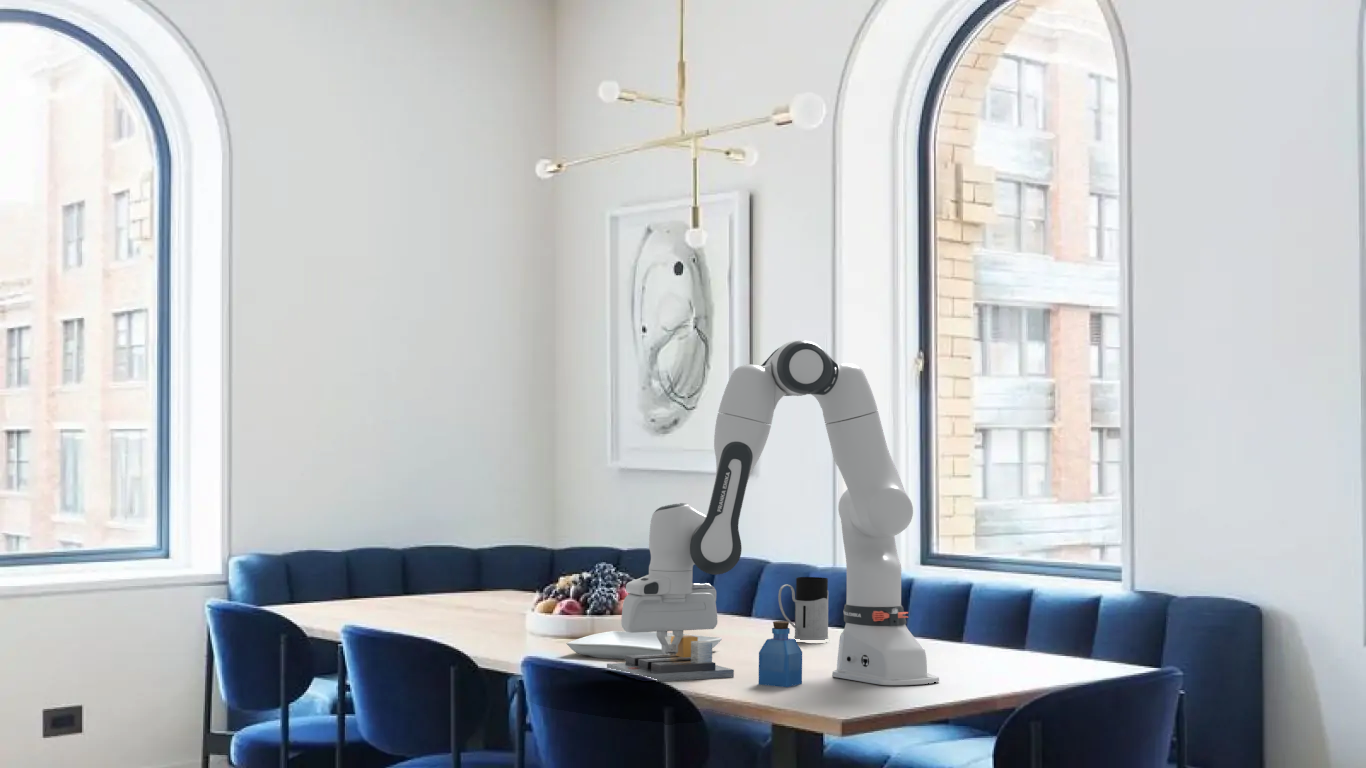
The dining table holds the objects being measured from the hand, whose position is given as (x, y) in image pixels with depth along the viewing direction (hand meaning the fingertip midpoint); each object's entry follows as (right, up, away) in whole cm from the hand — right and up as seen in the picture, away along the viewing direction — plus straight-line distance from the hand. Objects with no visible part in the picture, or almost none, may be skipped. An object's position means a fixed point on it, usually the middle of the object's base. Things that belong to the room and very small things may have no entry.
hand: (669, 653), depth 336 cm
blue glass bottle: (+22, -4, -11) cm, 25 cm away
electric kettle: (+31, -7, +61) cm, 68 cm away
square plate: (-6, -6, +33) cm, 34 cm away
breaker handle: (+3, -1, +2) cm, 4 cm away
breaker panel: (0, -4, 0) cm, 4 cm away
